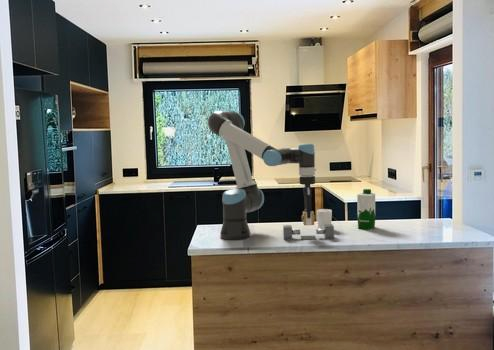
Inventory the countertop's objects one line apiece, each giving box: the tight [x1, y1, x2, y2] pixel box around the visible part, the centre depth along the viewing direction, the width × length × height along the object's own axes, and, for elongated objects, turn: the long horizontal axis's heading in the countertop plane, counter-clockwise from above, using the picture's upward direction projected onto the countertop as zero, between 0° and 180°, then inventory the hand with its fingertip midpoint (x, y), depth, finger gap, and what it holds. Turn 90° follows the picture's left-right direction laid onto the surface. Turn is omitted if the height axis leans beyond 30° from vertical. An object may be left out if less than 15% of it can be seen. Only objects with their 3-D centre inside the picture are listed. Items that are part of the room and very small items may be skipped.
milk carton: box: [356, 188, 376, 230], centre depth 252 cm, size 9×9×20 cm
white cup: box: [316, 208, 333, 229], centre depth 253 cm, size 8×8×10 cm
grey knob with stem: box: [315, 223, 335, 240], centre depth 234 cm, size 8×5×6 cm, turn 87°
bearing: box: [282, 224, 301, 241], centre depth 235 cm, size 8×5×6 cm, turn 87°
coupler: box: [301, 210, 317, 226], centre depth 234 cm, size 7×5×6 cm
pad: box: [300, 235, 317, 241], centre depth 235 cm, size 7×7×1 cm
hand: (308, 223), depth 234 cm, fingers closed on coupler, 5 cm apart
